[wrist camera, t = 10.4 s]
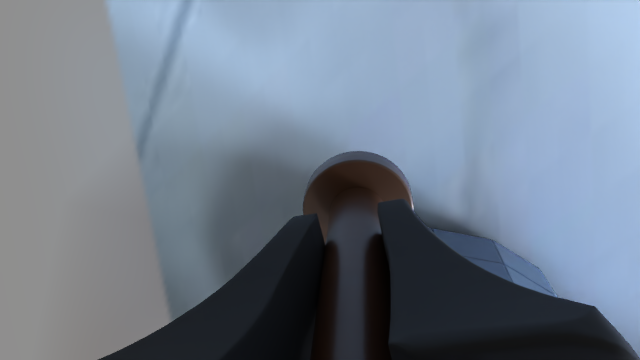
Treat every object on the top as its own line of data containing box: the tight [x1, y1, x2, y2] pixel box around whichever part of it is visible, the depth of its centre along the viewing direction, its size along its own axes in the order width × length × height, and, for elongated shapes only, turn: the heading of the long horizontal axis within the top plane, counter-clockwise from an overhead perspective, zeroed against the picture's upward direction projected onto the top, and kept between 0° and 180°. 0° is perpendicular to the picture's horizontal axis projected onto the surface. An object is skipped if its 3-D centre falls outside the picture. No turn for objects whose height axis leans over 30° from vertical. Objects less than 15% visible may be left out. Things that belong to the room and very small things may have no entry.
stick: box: [303, 151, 414, 360], centre depth 11 cm, size 3×3×9 cm
